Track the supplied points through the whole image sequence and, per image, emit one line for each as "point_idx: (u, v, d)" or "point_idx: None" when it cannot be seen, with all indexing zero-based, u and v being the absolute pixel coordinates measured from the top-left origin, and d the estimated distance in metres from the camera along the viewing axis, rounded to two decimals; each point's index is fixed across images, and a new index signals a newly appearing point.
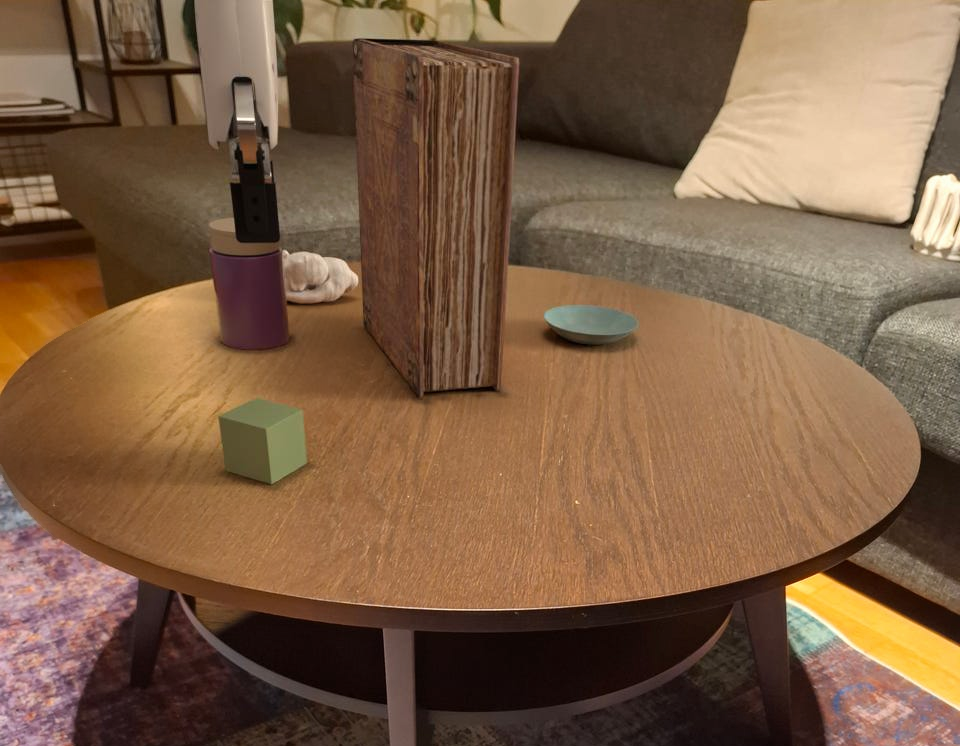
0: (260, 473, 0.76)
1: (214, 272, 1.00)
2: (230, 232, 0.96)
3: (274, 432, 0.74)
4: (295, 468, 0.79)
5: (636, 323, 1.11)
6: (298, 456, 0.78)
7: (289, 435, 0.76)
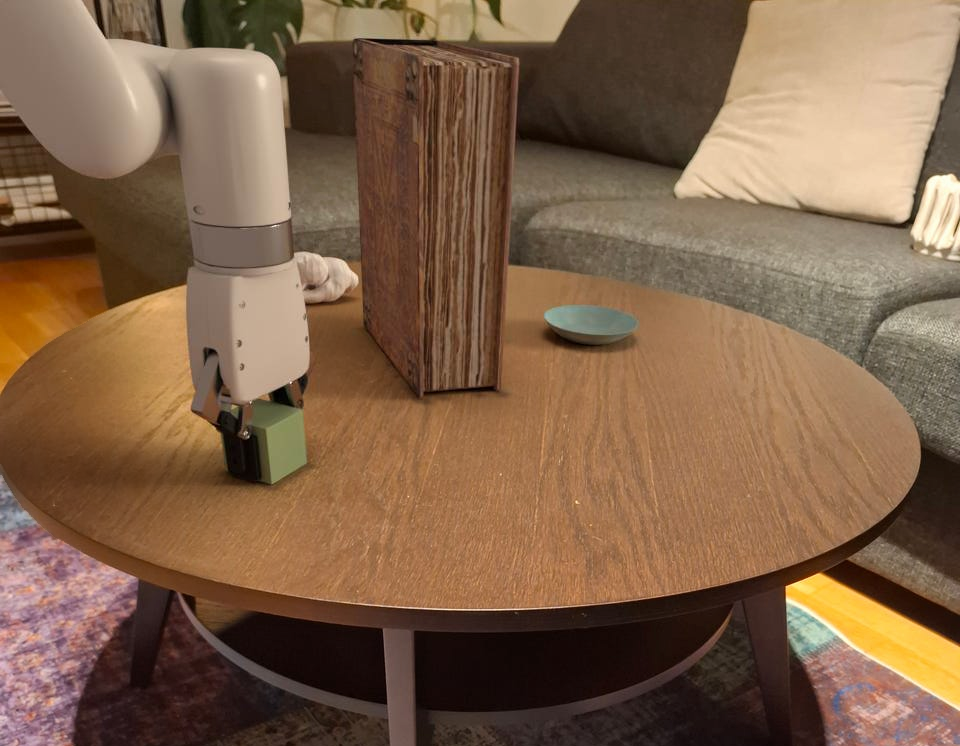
0: None
1: None
2: None
3: (274, 432, 0.74)
4: (295, 468, 0.79)
5: (636, 323, 1.11)
6: (298, 457, 0.78)
7: (289, 435, 0.76)
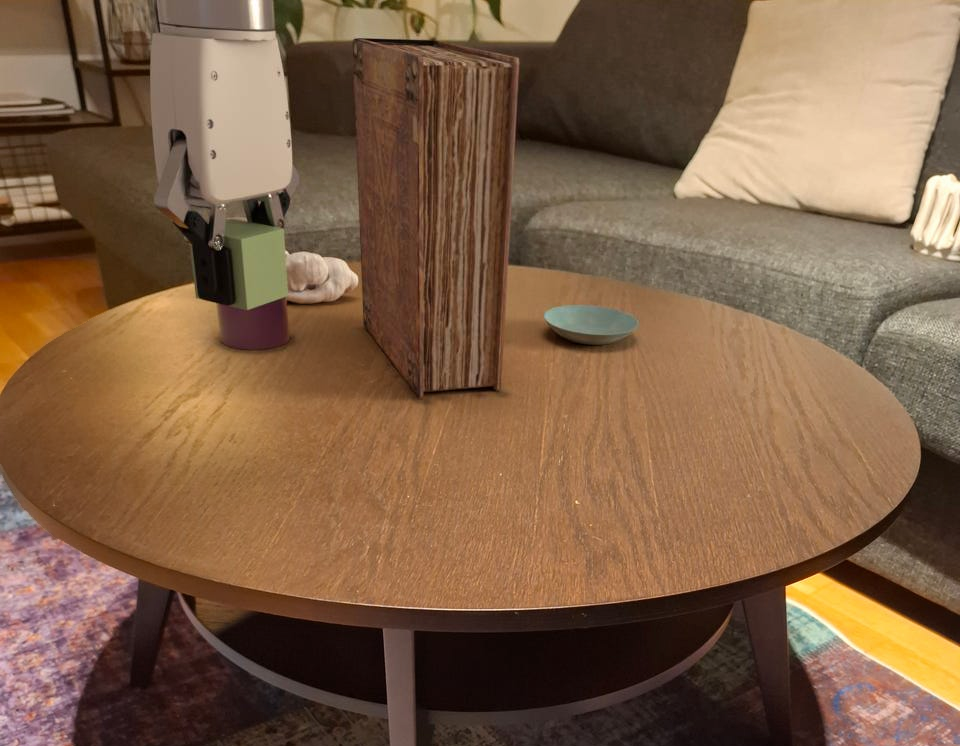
0: (235, 297, 0.68)
1: None
2: None
3: (250, 246, 0.66)
4: (274, 298, 0.70)
5: (636, 323, 1.11)
6: (278, 285, 0.70)
7: (268, 255, 0.68)
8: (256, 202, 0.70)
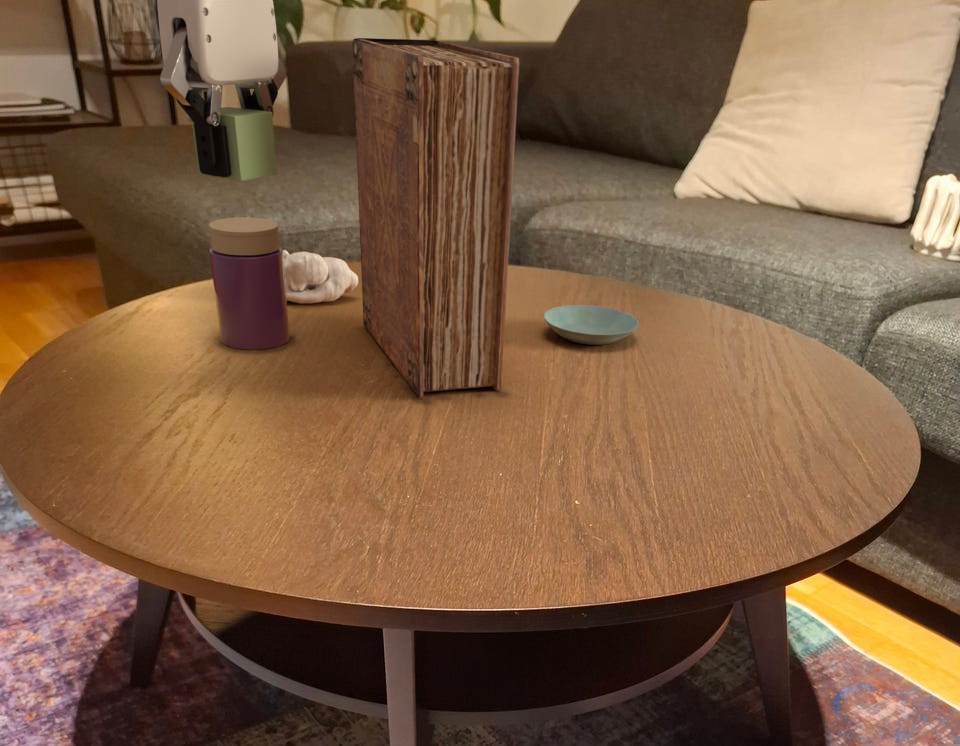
0: None
1: (214, 272, 1.00)
2: (230, 232, 0.96)
3: (243, 124, 0.78)
4: (265, 174, 0.82)
5: (636, 323, 1.11)
6: (268, 162, 0.82)
7: (259, 134, 0.80)
8: (249, 92, 0.82)
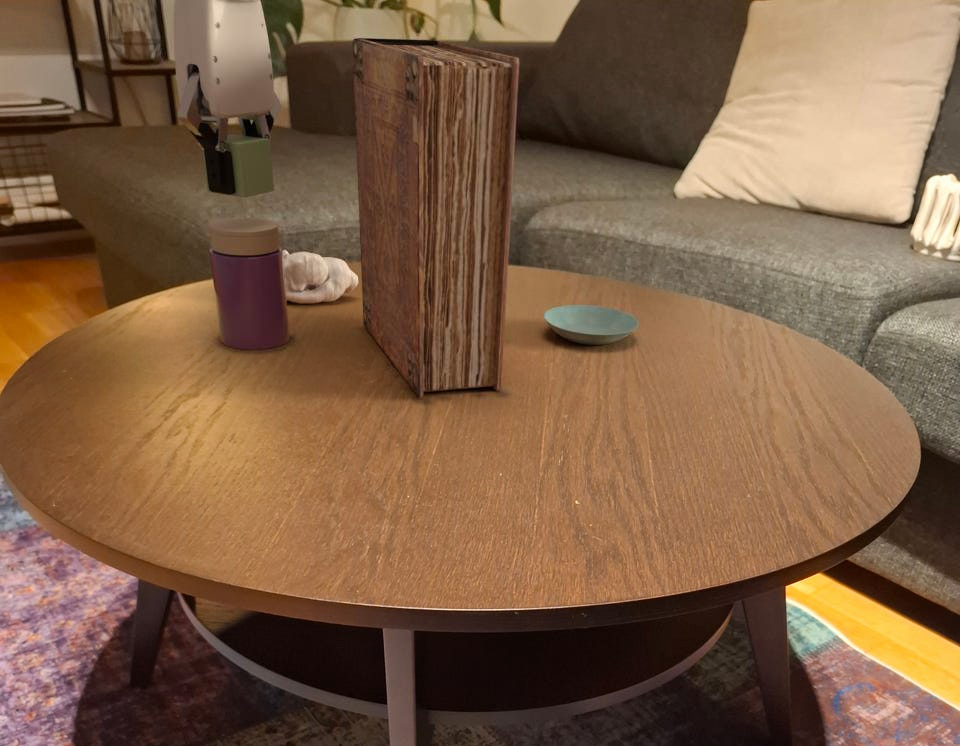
0: (235, 188, 0.95)
1: (214, 272, 1.00)
2: (230, 232, 0.96)
3: (245, 150, 0.93)
4: (264, 191, 0.97)
5: (636, 323, 1.11)
6: (266, 181, 0.97)
7: (258, 158, 0.95)
8: (249, 122, 0.97)
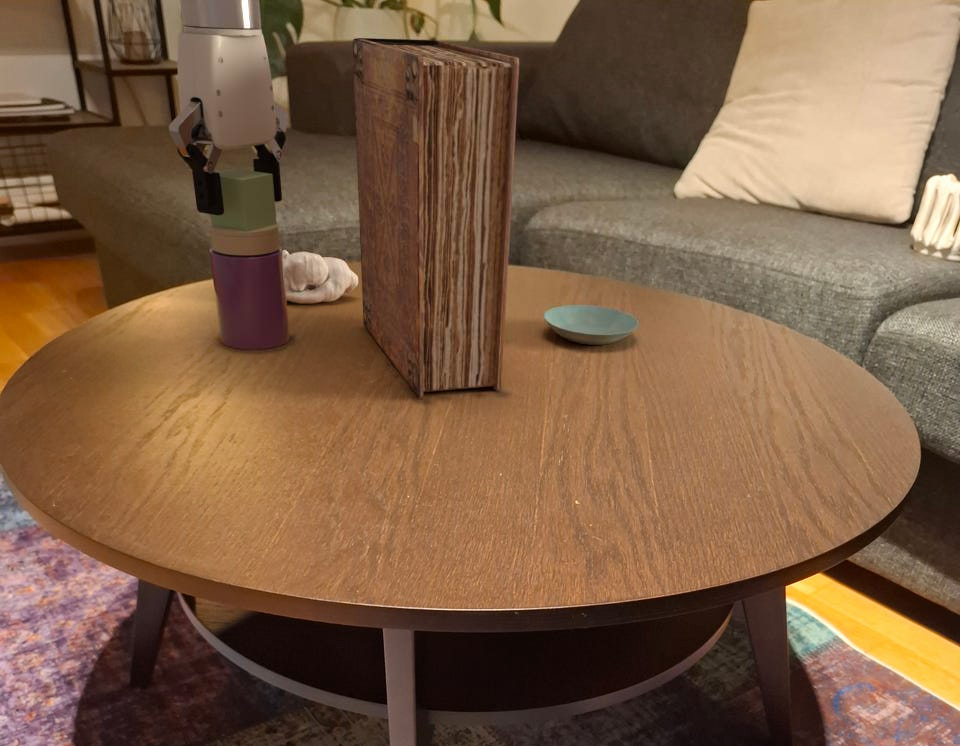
0: (238, 222, 0.97)
1: (214, 272, 1.00)
2: (230, 232, 0.96)
3: (249, 185, 0.95)
4: (267, 224, 0.99)
5: (636, 323, 1.11)
6: (269, 214, 0.99)
7: (261, 192, 0.97)
8: None
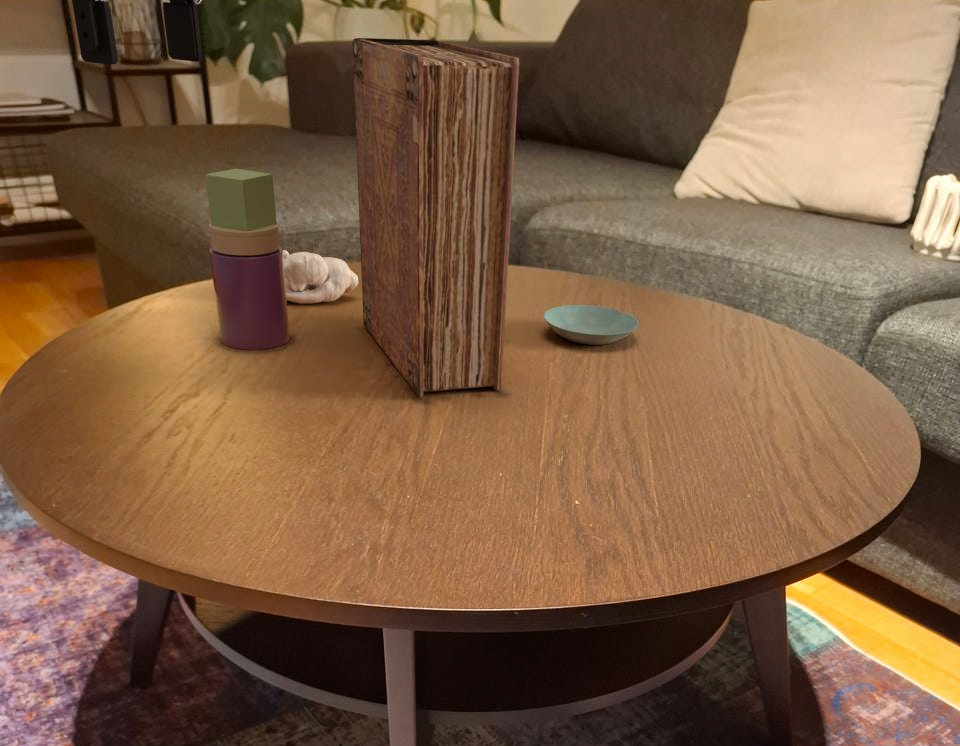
0: (238, 222, 0.97)
1: (214, 272, 1.00)
2: (230, 232, 0.96)
3: (249, 185, 0.95)
4: (267, 224, 0.99)
5: (636, 323, 1.11)
6: (269, 214, 0.99)
7: (261, 192, 0.97)
8: None
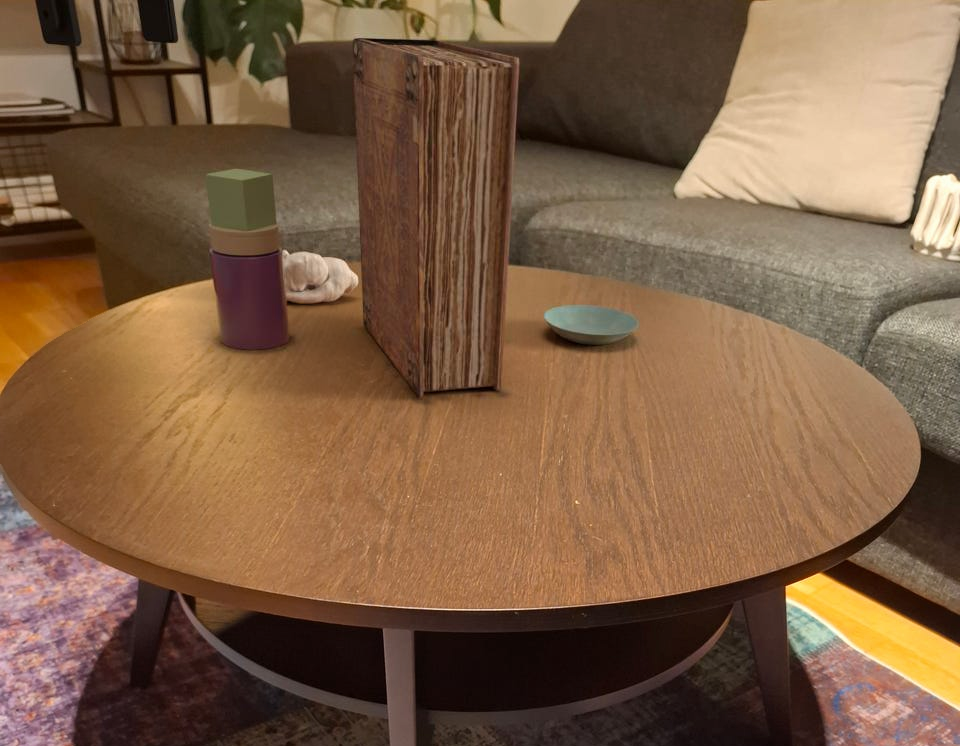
0: (238, 222, 0.97)
1: (214, 272, 1.00)
2: (230, 232, 0.96)
3: (249, 185, 0.95)
4: (267, 224, 0.99)
5: (636, 323, 1.11)
6: (269, 214, 0.99)
7: (261, 192, 0.97)
8: None
